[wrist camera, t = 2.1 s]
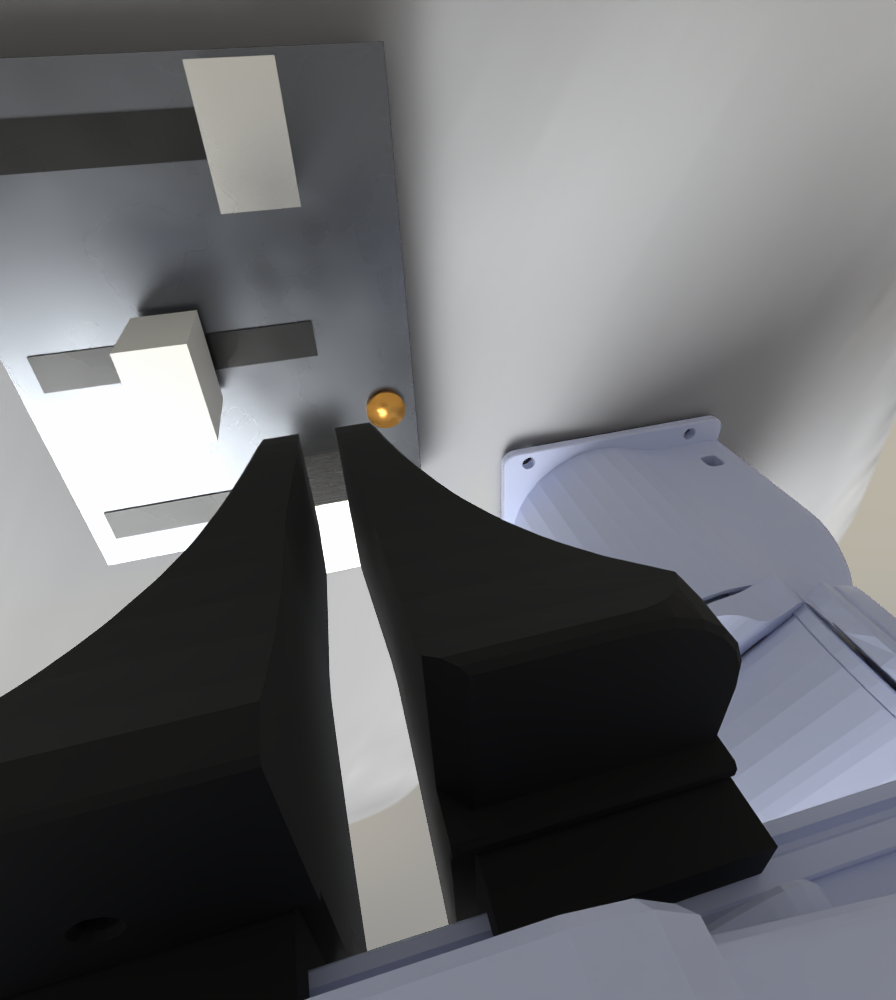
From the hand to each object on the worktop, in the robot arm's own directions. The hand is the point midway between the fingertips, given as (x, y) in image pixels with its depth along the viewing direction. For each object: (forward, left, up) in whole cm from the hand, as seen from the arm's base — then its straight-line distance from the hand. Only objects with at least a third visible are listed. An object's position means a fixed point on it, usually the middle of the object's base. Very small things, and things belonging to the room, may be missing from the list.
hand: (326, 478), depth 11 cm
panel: (+2, 0, -9) cm, 10 cm away
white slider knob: (+3, 0, -7) cm, 8 cm away
